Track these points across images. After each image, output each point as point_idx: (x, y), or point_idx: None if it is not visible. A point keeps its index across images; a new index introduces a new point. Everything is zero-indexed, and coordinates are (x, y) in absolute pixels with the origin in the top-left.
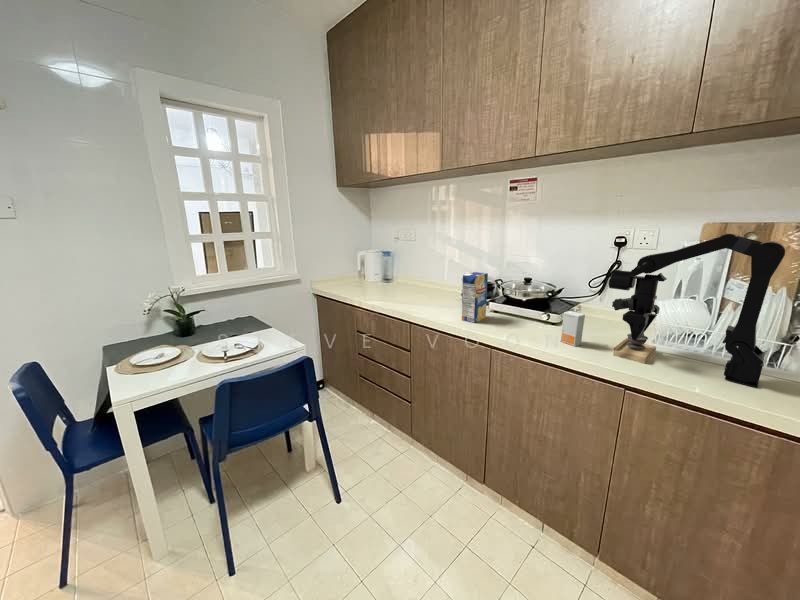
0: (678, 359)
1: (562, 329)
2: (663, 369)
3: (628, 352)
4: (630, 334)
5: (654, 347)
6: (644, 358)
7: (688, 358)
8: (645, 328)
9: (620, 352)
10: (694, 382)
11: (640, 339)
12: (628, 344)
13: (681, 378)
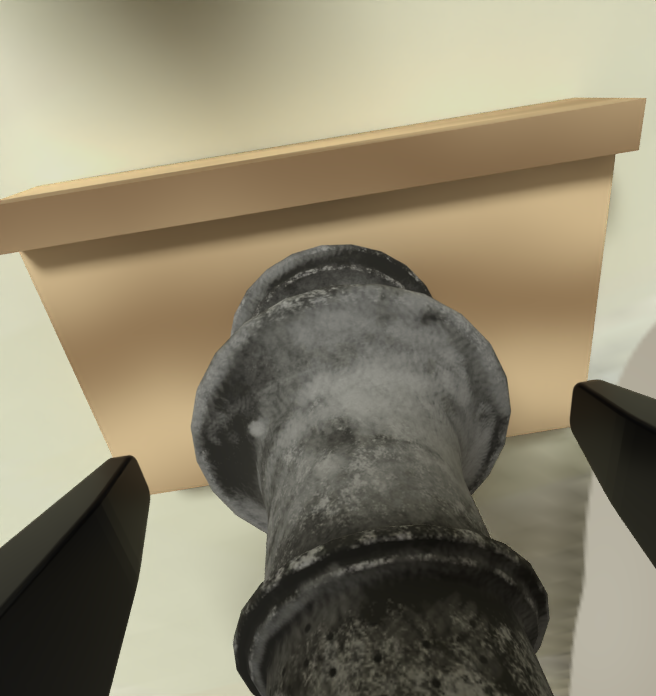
0: (491, 532)
1: None
2: (175, 554)
3: (111, 350)
4: (297, 365)
5: (536, 426)
6: None
7: (569, 552)
8: (646, 537)
9: (40, 282)
10: (146, 679)
11: (238, 514)
12: (275, 289)
13: (132, 641)
